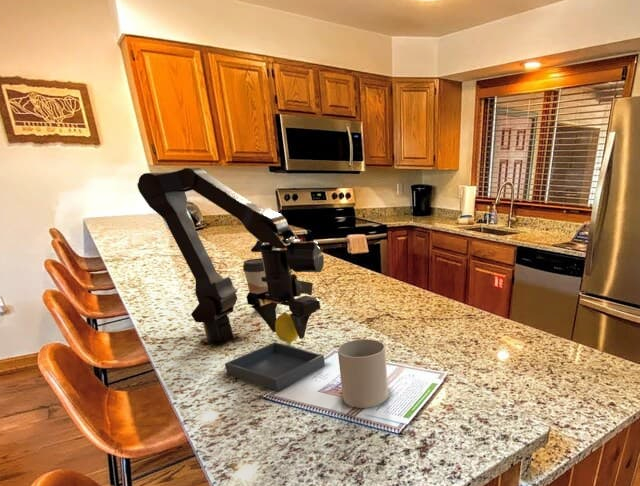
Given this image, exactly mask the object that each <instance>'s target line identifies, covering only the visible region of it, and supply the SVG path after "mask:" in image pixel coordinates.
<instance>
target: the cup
mask: <svg viewBox="0 0 640 486" xmlns="http://www.w3.org/2000/svg"><path fill="white" fill-rule="evenodd" d="M337 356H338V365H339V373H340V374H339V375H340V382H341V383H340V384H341V391H342V392H341V394H342V399H343V402H344V404H346V405H348V407H351V408H352V407H353V408H358V409H365V408H366V409H368V408H372V407H373V408H374V407H376V406H379V405H381V404H382V403H384V402H386V401H387V399H388V396H389V387H388V369H387V353H386V345H385V344H384V342H382V341H379V340H377V339H369V338H361V339H354V340H349V341H346V342H344V343H341V344H340V345H339V346H338V348H337Z"/></svg>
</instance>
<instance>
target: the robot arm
mask: <svg viewBox="0 0 640 486" xmlns="http://www.w3.org/2000/svg"><path fill="white" fill-rule="evenodd" d="M136 185H137V189H138V192H139V194H140V195H141V196H142V198H143V199H144V200H145V203H146V204H147V205H148V207H149V208H151V209H152V210H153V211H154V212H155V213H157V214H158V215H159V216H160V217H161V218H162V219H163V220H164V222H165V224H166V226H167V229H169V231H170V234H171V235H172V238H173V239H174V241H175V243H176V246H177V247H178V248H179V251H180V253H181V255H182V257H183V258H184V261H185V262H186V264H187V267H188V268H189V271H190V272H191V274H192V276H193V278H194V280H195V286H194V287H195V288H194V289H195V291H194V292H195V293H194V294H195V296H196V300H197V302H198V304H197V306H196V307H195V308H194V310H193V311H192V312H191V313H190V314H191V317H192V318H193V321H194V322H195V323H202V327H203V330H204V334H205V338H202V339H200V342H201V343H203V344H207V345H210V346H214V347H219V346H222V345H224V344H227V343H230V342H232V341H235V340H237V339H239V338H240V336H239V335H237V334H234V332H233V328H232V324H231V320H230V317H229V316H228V314H231V313H233V312H234V306H235V305H236V303H237V301H238V296H237V292H238V290H237V289H236V288H235V286H234V284H233V281H232V279H231V277H230V276H226V277H224V276H222V275H221V274H220V273H218V271H217V270H216V268H215V266H214V264H213V262H212V260H211V258H210V255H209V254H208V252H207V250H206V248H205V246H204V244H203V242H202V240H201V238H200V236H199V234H198V232H197V229H196V228H195V225H194V223H193V222H192V220H191V218H190V215H189V214H188V197H187V194H186V193H187V192H190V191H191V192H192V191H194V192H195V193H197V194H198V195H200V196H201V197H203V198H204V199H206V200H207V201H209V202H211V203H213V204H214V205H215V206H217V207H219V208H220V209H222V210H223V211H224V212H227V213H228V214H230V215H231V216H232V217H234V218H236V219H237V220H238V221H239V222H241V224H242V225H243V227H244V228H245V230H246V231H247V232H248V233H249V234H250V235H251V236H253V237H254V238H255V239H256V240H257V241H256V243H255V244H254V245H253V246H252V248H251V249H250V252H252V253H260V254H261V258H262V260H263V266H264V271H265V276H264V277H261V278H262V282H266V283H267V288H262V289H258V290H255V291H251V292H249V291H248V293H247V295H246V302H247V305H249V306H251V308H252V309H254V311H255V310H256V311H257V312H258V313H257V312H256V311H255V312H256V313H257V314H258V315H259V316H260V318H261V319H262V320H263V321H264V322H265V324H266V325H267V326H268V328H269V329H270V331H272V332H273V333H276V330H275V322H276V319H277V312H276V311H277V309H276V307H277V308H278V305H280V306H281V305H282V306H286V307H288V308H289V311H290V313H289V314H290V317H291V319H292V322H293V324H294V327H295V329H296V332H297V334H298V338H299V339H304V338H305V335H306V331H307V327H308V322H309V320H310V317H311V315H312V314H314V313H316V312H317V311H319V310H321V303H320V299H319V298H317V297H316V296H312V295H313V288H314V287H313V286H314V282H310V281H306V280H300V279H299V280H298V276H297V274H295V273H321V272H322V271H323V269H324V254H323V252H322V249H321V248H320V246H319V244H318V241H317V240H310V241H301V240H300V238H299V237H298V235H296V234H295V232H294V231H293V230H292V229H291V227H290V226H289V224H288V221H287V218H286V217H285V216H284V215H283V214H281V213H279V212H277V211H275V210H272V209H270V208H268V207H264V206H261V205H257V204H256V203H253V202H251V201H250V200H248V199H246V198H245V197H244V196H242V195H241V194H239V193H238V192H236V191H234V190H233V189H231V188H230V187H228V186H227V185H225V184H223V183H222V182H220V181H219V180H218V179H216V178H215V177H213V176H212V175H209V174H208V172H207V171H205V170H204V169H202V168H200V167H184V168H182V169H179V170H175V171H171V172H170V171H169V172H167V171H166V172H165V171H163V172H144V173H142V174H141V175H140V176H139V178H138V182H137V183H136ZM292 271H293V272H294V273H292ZM304 294H305V295H304ZM302 295H303V296H302ZM295 297H296V298H295Z"/></svg>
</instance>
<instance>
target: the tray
mask: <svg viewBox="0 0 640 486" xmlns="http://www.w3.org/2000/svg"><path fill="white" fill-rule="evenodd" d="M325 363H326V362H325V356H324V354H321V353H317V352H315V351H309V350H305V349H302V348H298V347H294V346H290V345H287V344H282V343H279V342H272V343H270V344H268V345H265V346H263V347H260V348H258V349H256V350H254V351H251V352H249V353H247V354H243V355H242V356H239V357H237V358H235V359H232V360H230V361H227V362H225V363H224V366H225V367H224V368H225V371H226V375H228V376H231V377H234V378H237V379H241V380H244V381H246V382H248V383H249V382H250V383H252V384H256V385H258V386H261V387H265V388H267V389H271V390H273V391H275V392H278V391H280V390H282V389H284V388H286V387H288V386H289V385H292V384H293V383H295V382H297V381H299V380H300V379H302V378H304V377H306V376H308V375H310V374H313V372H316V371H317V370H319V369H321V368H323V367H325V366H326V364H325Z"/></svg>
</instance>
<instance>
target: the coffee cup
mask: <svg viewBox="0 0 640 486" xmlns="http://www.w3.org/2000/svg"><path fill="white" fill-rule="evenodd" d="M242 271H243V272H244V276H245V279H246V283H247V284H246V285H247V288H248V293H249V292H251V291H255V290H258V289H262V288H267V283H266V282H262V278H261V277H264V276H265V271H264V266H263V260H262V257H261V258H260V257H259V258H250V259H246V260H244V261H243V265H242ZM277 309H278V306H277V307H276V310H277ZM254 311H255V312H256V314H258V312H257V311H256V310H255V309H254Z"/></svg>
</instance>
